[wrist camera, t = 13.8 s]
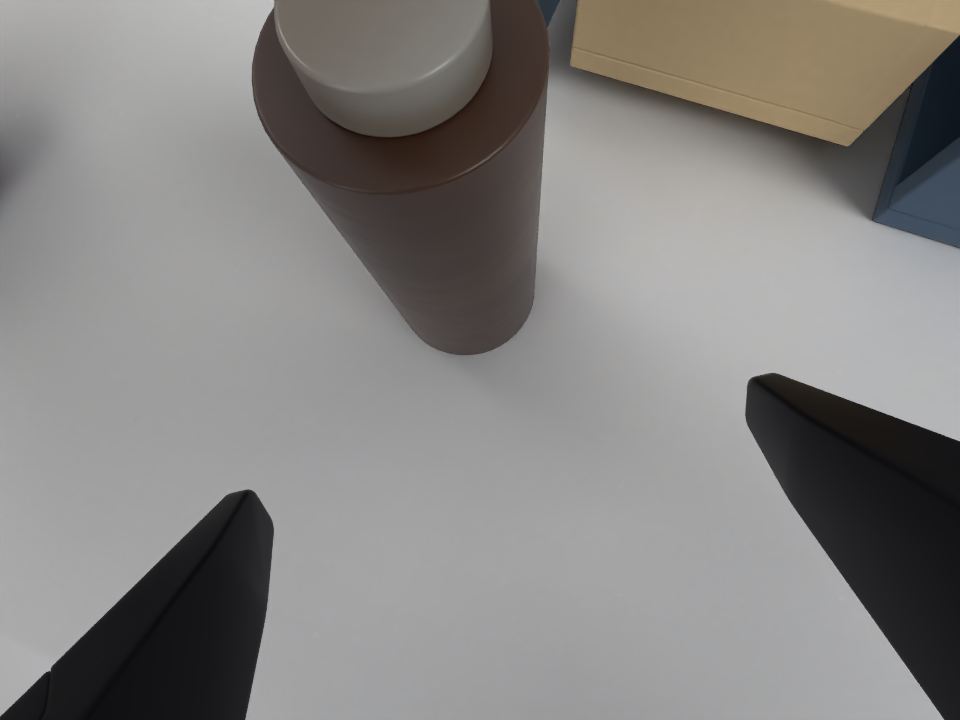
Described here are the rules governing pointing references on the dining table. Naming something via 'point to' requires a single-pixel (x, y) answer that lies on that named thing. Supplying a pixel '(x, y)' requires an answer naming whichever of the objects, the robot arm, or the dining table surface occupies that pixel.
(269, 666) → the dining table surface
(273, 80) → the pepper mill
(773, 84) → the drawer
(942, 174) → the cabinet
